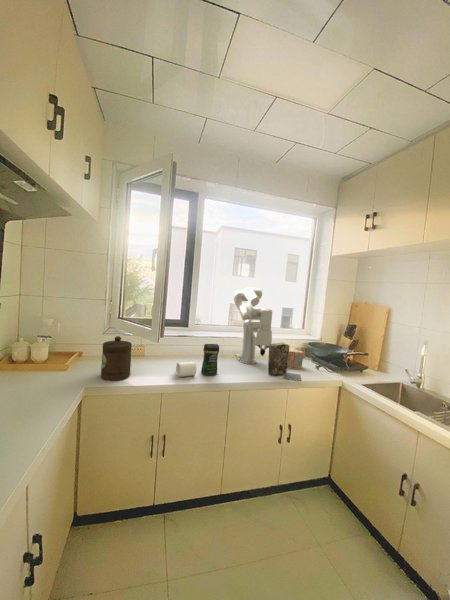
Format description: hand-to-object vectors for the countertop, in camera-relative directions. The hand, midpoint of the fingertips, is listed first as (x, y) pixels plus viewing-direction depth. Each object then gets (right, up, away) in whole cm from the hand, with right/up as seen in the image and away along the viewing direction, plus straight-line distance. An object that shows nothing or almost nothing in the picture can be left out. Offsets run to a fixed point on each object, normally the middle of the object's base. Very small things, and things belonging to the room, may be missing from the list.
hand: (262, 355), depth 169 cm
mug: (-49, -8, -16) cm, 52 cm away
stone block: (+10, -12, -1) cm, 16 cm away
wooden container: (-85, -6, -28) cm, 90 cm away
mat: (+19, -13, -3) cm, 23 cm away
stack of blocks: (+20, -12, +18) cm, 29 cm away
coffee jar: (-34, -9, -11) cm, 37 cm away
